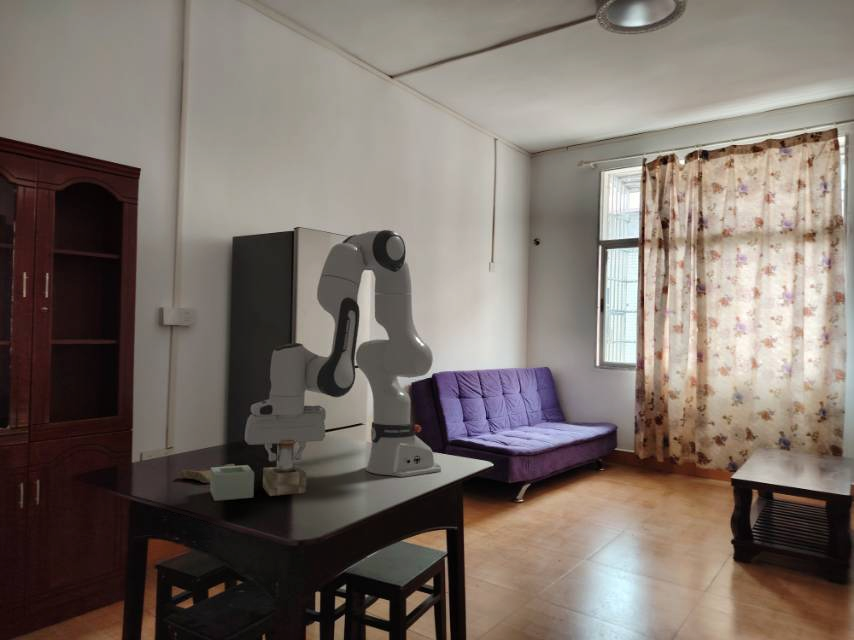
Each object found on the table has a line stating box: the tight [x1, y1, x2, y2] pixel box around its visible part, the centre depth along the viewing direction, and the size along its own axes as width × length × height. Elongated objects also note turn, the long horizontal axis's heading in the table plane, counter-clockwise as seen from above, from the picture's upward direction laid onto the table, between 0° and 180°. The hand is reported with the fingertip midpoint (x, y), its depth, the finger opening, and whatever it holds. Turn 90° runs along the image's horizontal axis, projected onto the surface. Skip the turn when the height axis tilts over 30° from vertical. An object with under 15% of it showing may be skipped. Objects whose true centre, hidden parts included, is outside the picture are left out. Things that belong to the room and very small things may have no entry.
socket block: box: [209, 464, 255, 502], centre depth 152 cm, size 9×9×6 cm
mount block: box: [262, 465, 307, 497], centre depth 157 cm, size 9×9×5 cm
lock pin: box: [276, 440, 296, 473], centre depth 158 cm, size 5×5×13 cm
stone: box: [178, 463, 236, 484], centre depth 168 cm, size 11×16×3 cm
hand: (285, 460), depth 158 cm, fingers open, 5 cm apart
